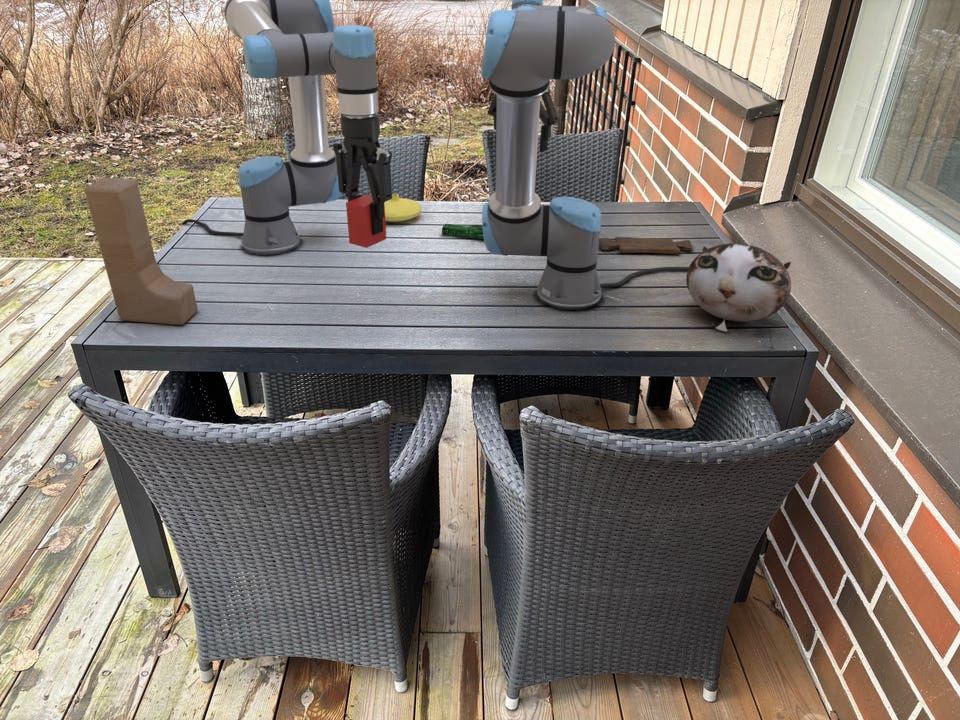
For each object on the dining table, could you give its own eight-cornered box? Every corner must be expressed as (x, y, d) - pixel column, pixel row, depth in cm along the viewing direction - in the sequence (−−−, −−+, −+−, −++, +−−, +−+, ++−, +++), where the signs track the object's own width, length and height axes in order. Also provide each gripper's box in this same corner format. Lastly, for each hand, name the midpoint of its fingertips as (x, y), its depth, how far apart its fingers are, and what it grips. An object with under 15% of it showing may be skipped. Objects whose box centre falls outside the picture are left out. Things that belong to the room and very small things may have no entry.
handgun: (511, 219, 210) (493, 234, 198) (511, 228, 211) (492, 244, 199) (461, 212, 215) (440, 226, 203) (461, 221, 217) (440, 236, 204)
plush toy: (664, 307, 155) (693, 222, 157) (679, 329, 171) (705, 252, 172) (770, 332, 145) (800, 241, 146) (775, 353, 160) (802, 271, 162)
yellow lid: (393, 205, 227) (392, 183, 223) (432, 216, 219) (432, 193, 215) (359, 219, 216) (357, 196, 212) (398, 230, 208) (397, 207, 204)
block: (386, 239, 152) (384, 198, 147) (366, 248, 147) (363, 206, 143) (369, 234, 154) (366, 194, 149) (349, 243, 149) (345, 202, 145)
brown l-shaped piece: (183, 326, 156) (152, 191, 140) (118, 321, 157) (81, 187, 142) (199, 311, 162) (172, 180, 147) (137, 306, 164) (103, 176, 148)
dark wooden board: (696, 256, 194) (688, 243, 203) (697, 250, 194) (689, 237, 202) (601, 253, 195) (597, 240, 203) (602, 247, 194) (598, 234, 202)
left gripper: (408, 117, 136) (412, 233, 148) (338, 105, 144) (348, 216, 156) (382, 124, 131) (389, 244, 142) (311, 111, 139) (323, 226, 151)
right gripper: (576, 64, 176) (569, 151, 187) (491, 55, 188) (489, 137, 199) (561, 68, 171) (555, 157, 182) (475, 58, 183) (474, 142, 193)
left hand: (367, 229), depth 149 cm, fingers closed on block, 5 cm apart
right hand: (521, 147), depth 190 cm, fingers open, 13 cm apart
